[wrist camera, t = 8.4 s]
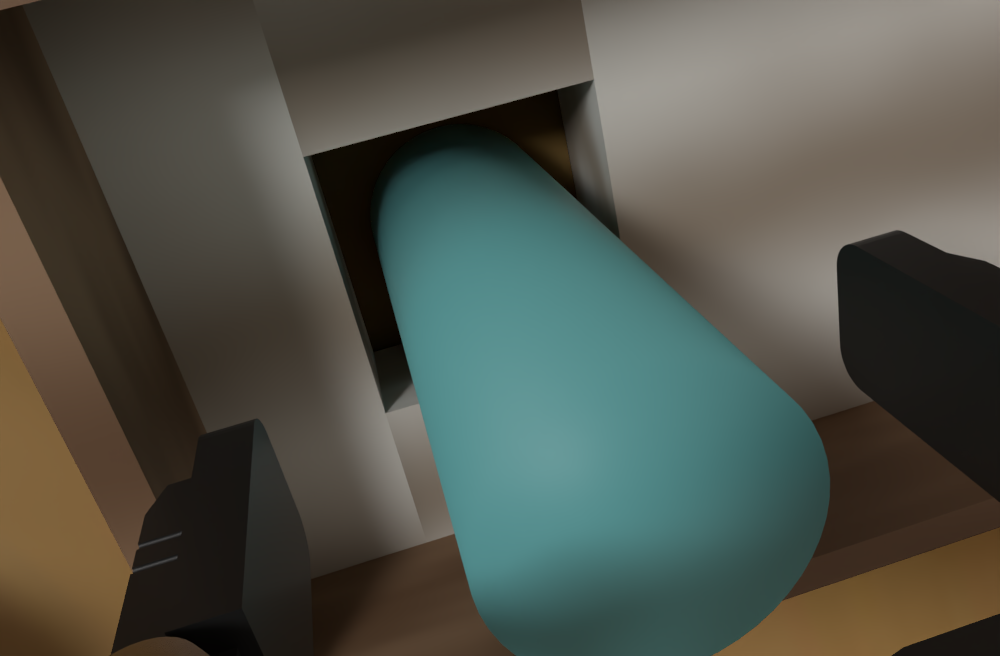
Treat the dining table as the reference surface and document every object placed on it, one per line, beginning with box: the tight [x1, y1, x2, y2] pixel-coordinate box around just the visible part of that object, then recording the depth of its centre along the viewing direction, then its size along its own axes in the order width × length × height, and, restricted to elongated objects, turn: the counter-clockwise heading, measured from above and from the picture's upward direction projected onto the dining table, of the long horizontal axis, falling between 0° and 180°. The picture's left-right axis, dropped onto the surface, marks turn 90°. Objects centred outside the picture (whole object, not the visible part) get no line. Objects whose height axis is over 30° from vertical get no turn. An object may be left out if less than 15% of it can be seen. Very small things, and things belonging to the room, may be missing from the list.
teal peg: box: [370, 124, 830, 656], centre depth 15 cm, size 4×4×12 cm
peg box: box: [0, 0, 1000, 656], centre depth 17 cm, size 14×20×7 cm
